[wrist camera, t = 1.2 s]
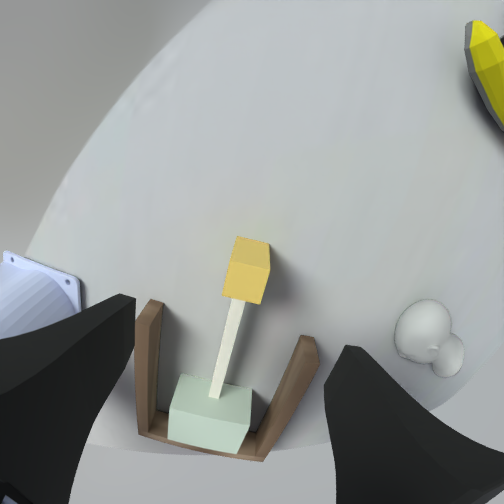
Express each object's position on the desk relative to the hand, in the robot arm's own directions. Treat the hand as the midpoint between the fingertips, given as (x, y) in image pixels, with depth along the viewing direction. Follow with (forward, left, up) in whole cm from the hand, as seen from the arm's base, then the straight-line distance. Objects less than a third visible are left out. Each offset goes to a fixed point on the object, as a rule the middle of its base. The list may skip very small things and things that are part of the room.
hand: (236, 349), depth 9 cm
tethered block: (0, -8, -9) cm, 12 cm away
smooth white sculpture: (+15, -3, -10) cm, 18 cm away
